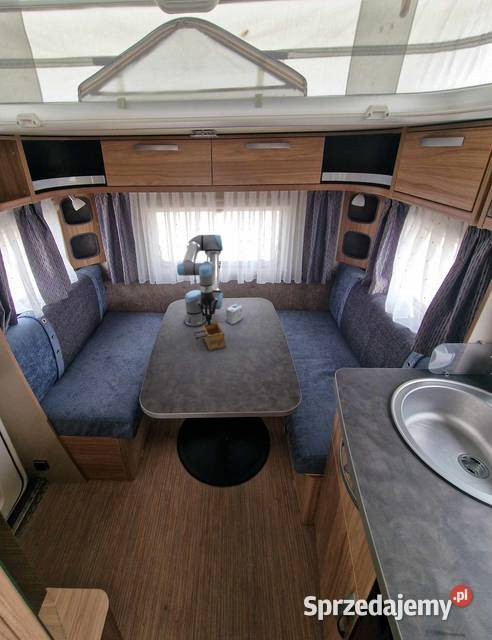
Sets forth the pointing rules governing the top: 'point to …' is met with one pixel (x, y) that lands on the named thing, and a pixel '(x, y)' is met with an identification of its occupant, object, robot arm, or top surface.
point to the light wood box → (212, 336)
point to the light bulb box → (234, 313)
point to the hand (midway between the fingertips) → (209, 324)
